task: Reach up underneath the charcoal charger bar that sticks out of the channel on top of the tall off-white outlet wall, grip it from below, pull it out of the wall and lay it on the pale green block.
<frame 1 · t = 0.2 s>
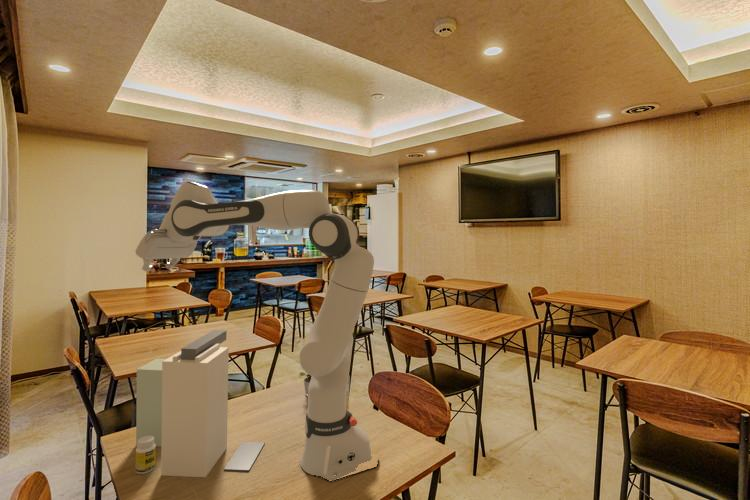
hand: (157, 269, 118), 53 cm above the table, tool tilted 25°, fingers open, 8 cm apart
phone: (245, 458, 112), on the table
pale green block: (158, 437, 121), on the table
charger bar: (205, 348, 113), point 31 cm above the table, touching outlet wall
candy box: (337, 414, 140), on the table
outlet wall: (196, 460, 109), on the table
house plant: (310, 396, 155), on the table
supplement bottle: (145, 469, 105), on the table
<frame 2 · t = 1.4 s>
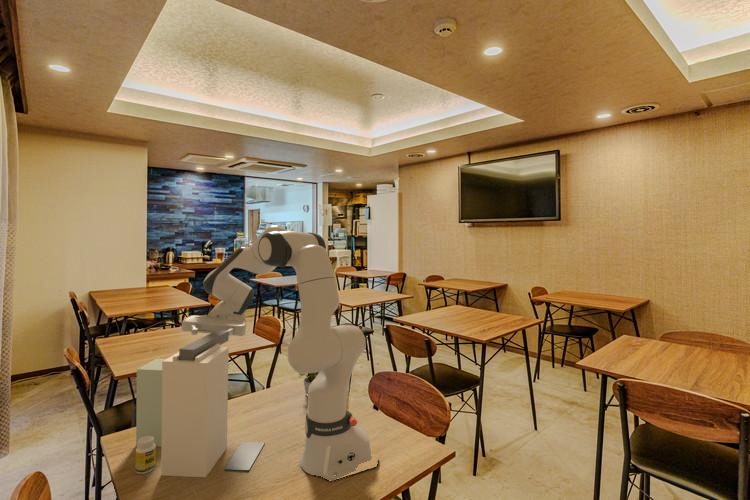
hand: (209, 333, 122), 33 cm above the table, tool horizontal, fingers open, 8 cm apart
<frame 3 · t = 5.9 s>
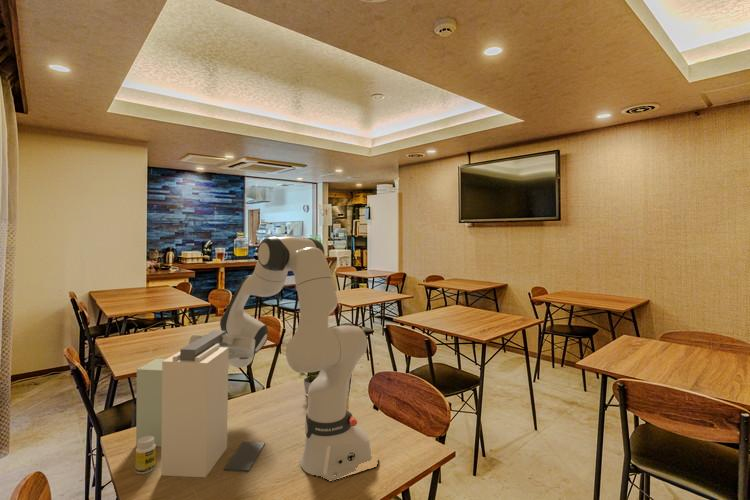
hand: (213, 337, 118), 33 cm above the table, tool pointing upward, fingers closed on charger bar, 4 cm apart
charger bar: (205, 349, 112), point 31 cm above the table, touching gripper, outlet wall
everything else where it was.
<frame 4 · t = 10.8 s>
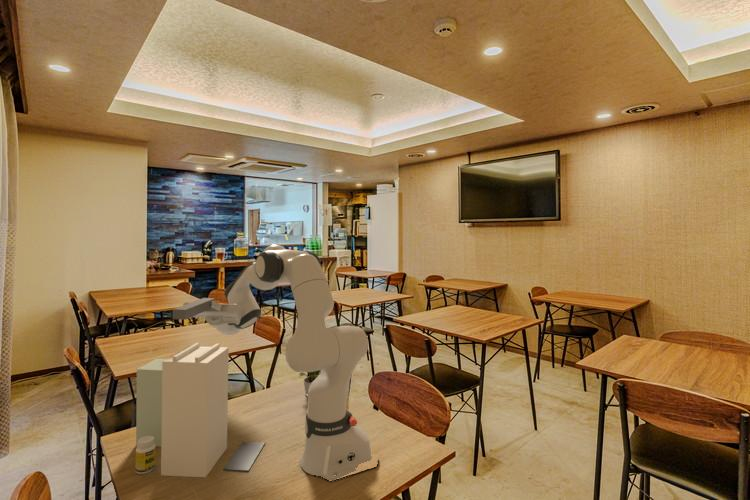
hand: (203, 303, 131), 41 cm above the table, tool pointing upward, fingers closed on charger bar, 4 cm apart
charger bar: (195, 312, 126), point 39 cm above the table, touching gripper
everything else where it was.
when the fingers open (27 cm above the table, at t = 15.6 s): charger bar drops 2 cm, resting on pale green block.
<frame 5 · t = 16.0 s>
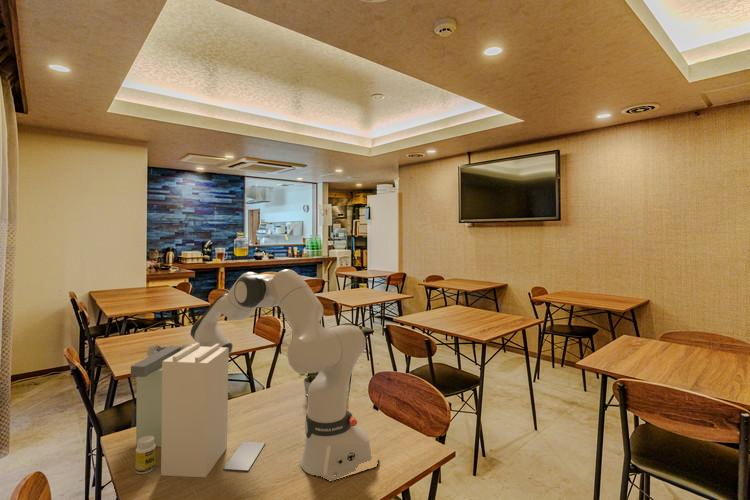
hand: (168, 348, 125), 27 cm above the table, tool pointing upward, fingers open, 8 cm apart
charger bar: (158, 364, 119), point 23 cm above the table, touching pale green block
everything else where it was.
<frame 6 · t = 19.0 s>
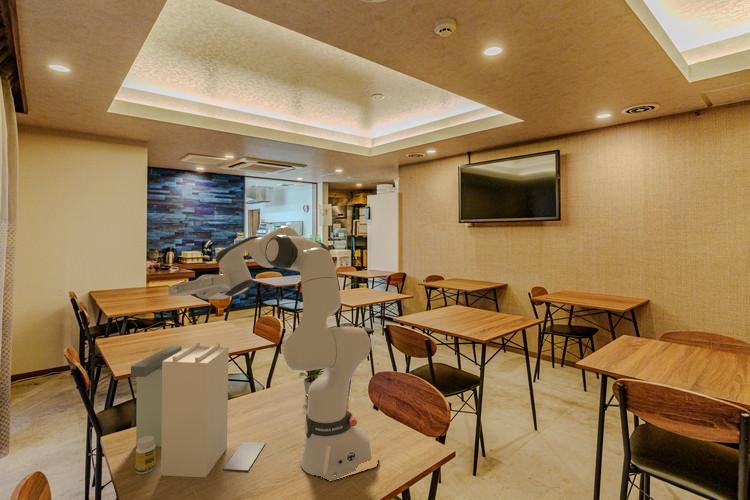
hand: (187, 284, 128), 48 cm above the table, tool horizontal, fingers open, 8 cm apart
nothing on the table moved.
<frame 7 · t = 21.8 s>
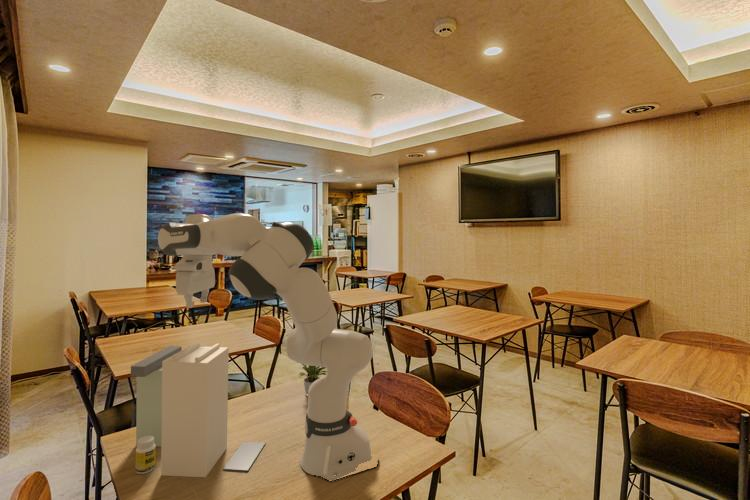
hand: (197, 304, 127), 41 cm above the table, tool pointing down, fingers open, 8 cm apart
nothing on the table moved.
at the end: charger bar inside the target area on the pale green block (0.7 cm from its centre), point 23.5 cm above the pale green block's base; the gripper is holding nothing; charger bar touching pale green block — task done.
